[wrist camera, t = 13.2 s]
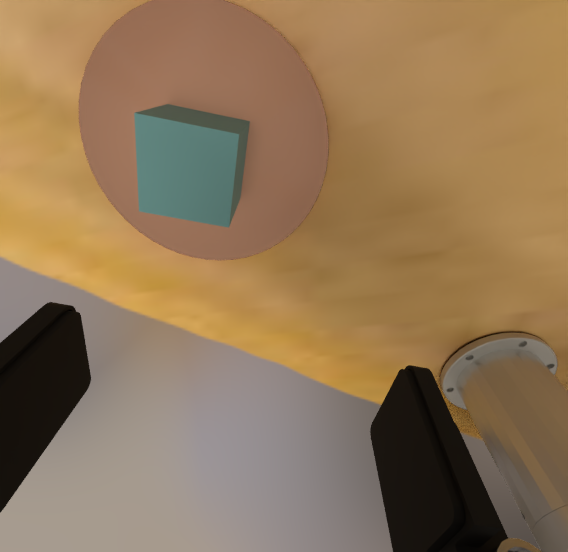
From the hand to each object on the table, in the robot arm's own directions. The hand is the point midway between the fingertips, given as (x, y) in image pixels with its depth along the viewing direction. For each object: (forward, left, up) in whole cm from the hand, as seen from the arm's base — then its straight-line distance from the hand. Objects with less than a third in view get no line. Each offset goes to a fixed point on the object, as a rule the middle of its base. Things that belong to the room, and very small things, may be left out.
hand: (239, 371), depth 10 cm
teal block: (+5, +1, -20) cm, 21 cm away
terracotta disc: (+5, +1, -21) cm, 22 cm away
